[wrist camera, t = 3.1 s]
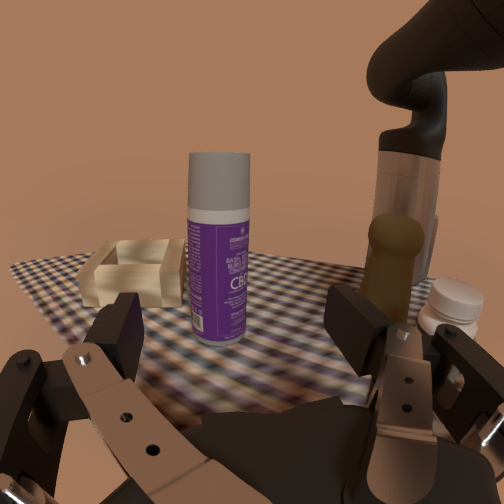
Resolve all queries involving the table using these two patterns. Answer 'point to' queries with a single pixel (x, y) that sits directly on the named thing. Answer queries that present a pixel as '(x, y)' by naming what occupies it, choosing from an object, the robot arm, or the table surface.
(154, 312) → the table surface
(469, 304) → the pill bottle
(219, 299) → the container
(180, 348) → the table surface
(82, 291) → the square holder
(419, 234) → the olive pepper mill
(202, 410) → the table surface
